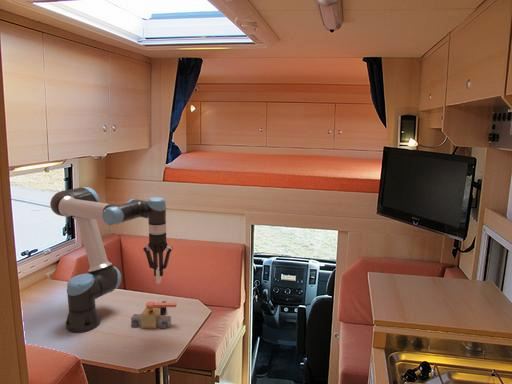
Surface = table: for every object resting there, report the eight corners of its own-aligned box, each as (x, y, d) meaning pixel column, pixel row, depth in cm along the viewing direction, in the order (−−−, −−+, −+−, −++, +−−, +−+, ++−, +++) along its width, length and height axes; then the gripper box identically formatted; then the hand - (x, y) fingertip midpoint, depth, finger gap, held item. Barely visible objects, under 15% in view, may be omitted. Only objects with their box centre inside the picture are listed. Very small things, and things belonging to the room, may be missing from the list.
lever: (145, 308, 189) (145, 305, 188) (147, 304, 192) (147, 301, 192) (175, 308, 189) (175, 305, 189) (176, 304, 193) (176, 301, 193)
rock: (150, 321, 195) (150, 310, 194) (147, 312, 205) (147, 301, 203) (169, 318, 199) (169, 307, 198) (165, 309, 208) (165, 298, 207)
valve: (130, 327, 190) (129, 309, 188) (135, 320, 196) (134, 302, 195) (167, 329, 188) (167, 311, 187) (171, 321, 195) (171, 304, 194)
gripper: (140, 234, 175) (141, 285, 179) (169, 235, 174) (170, 286, 179) (146, 229, 182) (147, 278, 187) (174, 230, 181) (175, 279, 186)
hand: (158, 282), depth 183 cm, fingers closed
